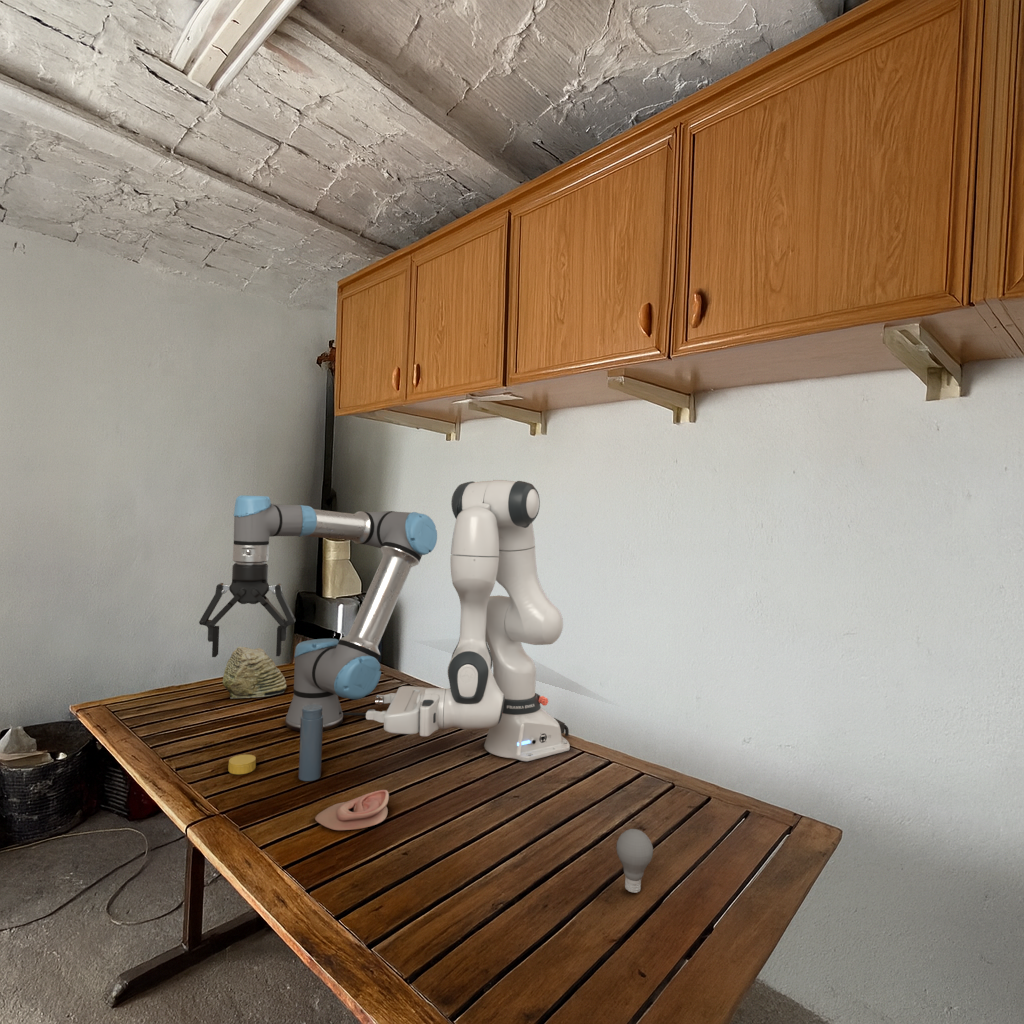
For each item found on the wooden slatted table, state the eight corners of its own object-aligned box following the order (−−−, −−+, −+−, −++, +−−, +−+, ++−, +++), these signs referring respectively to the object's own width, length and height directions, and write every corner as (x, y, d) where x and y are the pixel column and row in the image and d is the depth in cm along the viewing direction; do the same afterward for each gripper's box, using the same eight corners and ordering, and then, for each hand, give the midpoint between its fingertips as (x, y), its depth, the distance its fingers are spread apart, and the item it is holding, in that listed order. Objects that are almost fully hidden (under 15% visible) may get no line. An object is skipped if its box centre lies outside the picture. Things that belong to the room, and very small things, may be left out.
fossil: (218, 695, 195) (220, 647, 195) (278, 685, 208) (279, 640, 207) (228, 703, 189) (230, 653, 188) (289, 692, 201) (290, 645, 201)
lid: (224, 774, 142) (224, 764, 142) (233, 763, 148) (233, 754, 148) (251, 774, 143) (251, 764, 143) (259, 764, 148) (259, 754, 148)
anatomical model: (307, 805, 121) (336, 780, 133) (306, 826, 121) (335, 798, 133) (372, 815, 119) (395, 788, 130) (371, 836, 119) (394, 807, 130)
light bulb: (610, 879, 108) (613, 822, 108) (644, 879, 109) (647, 822, 109) (619, 902, 102) (622, 840, 102) (655, 901, 103) (658, 840, 103)
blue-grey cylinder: (294, 779, 141) (296, 709, 141) (305, 770, 146) (308, 702, 146) (314, 782, 140) (316, 712, 140) (324, 773, 145) (327, 705, 145)
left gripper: (186, 563, 138) (183, 660, 138) (306, 565, 144) (302, 658, 144) (195, 560, 145) (192, 652, 146) (309, 562, 151) (305, 650, 152)
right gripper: (437, 680, 154) (380, 678, 153) (427, 710, 133) (361, 709, 133) (437, 705, 154) (380, 704, 154) (426, 740, 133) (360, 738, 133)
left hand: (247, 655), depth 145 cm, fingers open, 13 cm apart
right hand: (371, 706), depth 143 cm, fingers open, 8 cm apart
